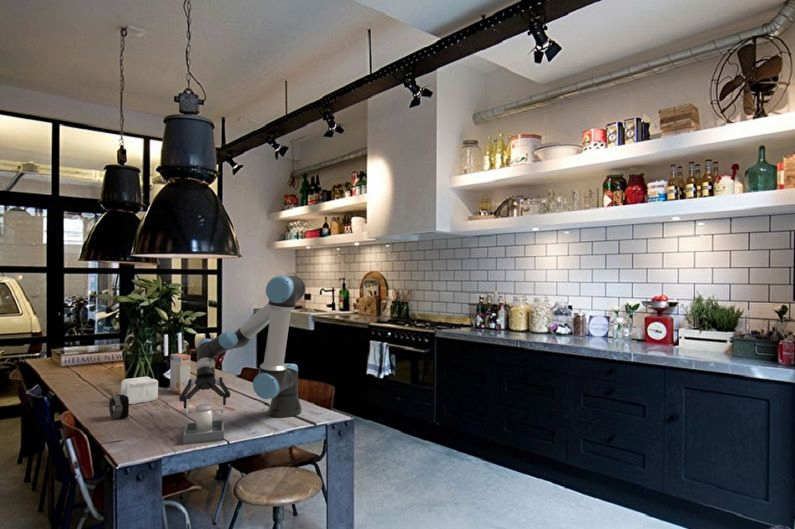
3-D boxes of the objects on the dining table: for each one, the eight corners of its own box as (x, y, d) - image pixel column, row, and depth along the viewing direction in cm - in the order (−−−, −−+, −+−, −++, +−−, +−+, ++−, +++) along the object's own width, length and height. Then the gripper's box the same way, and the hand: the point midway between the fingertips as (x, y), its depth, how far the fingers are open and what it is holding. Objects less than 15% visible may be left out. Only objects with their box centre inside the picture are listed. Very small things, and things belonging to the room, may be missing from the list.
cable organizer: (151, 397, 262) (152, 375, 262) (158, 401, 254) (158, 378, 254) (120, 402, 252) (120, 379, 252) (126, 406, 244) (126, 382, 244)
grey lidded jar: (212, 430, 201) (212, 403, 201) (212, 434, 195) (212, 407, 196) (196, 432, 199) (196, 405, 199) (196, 436, 193) (195, 408, 193)
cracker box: (190, 393, 271) (191, 355, 272) (179, 395, 267) (180, 356, 267) (180, 389, 281) (180, 352, 281) (169, 391, 277) (170, 353, 277)
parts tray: (223, 428, 207) (223, 419, 207) (223, 440, 192) (223, 431, 192) (186, 431, 202) (186, 423, 203) (183, 444, 187) (183, 435, 187)
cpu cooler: (108, 417, 225) (108, 394, 225) (122, 414, 229) (122, 392, 229) (115, 421, 217) (116, 398, 218) (129, 418, 222) (130, 396, 222)
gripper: (234, 373, 226) (236, 414, 212) (175, 377, 217) (172, 420, 203) (235, 363, 221) (236, 405, 207) (174, 367, 213) (171, 411, 198)
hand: (204, 413), depth 205 cm, fingers open, 13 cm apart
